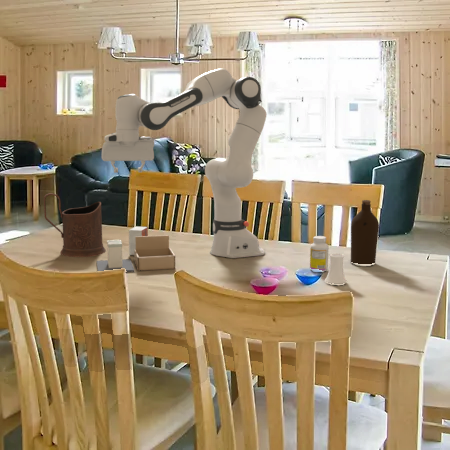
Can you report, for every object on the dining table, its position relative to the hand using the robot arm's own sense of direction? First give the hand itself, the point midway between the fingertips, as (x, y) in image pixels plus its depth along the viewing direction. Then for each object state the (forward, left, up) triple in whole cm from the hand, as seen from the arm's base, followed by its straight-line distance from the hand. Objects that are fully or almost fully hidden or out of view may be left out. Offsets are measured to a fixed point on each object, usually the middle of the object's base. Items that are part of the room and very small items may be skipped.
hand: (128, 172), depth 238 cm
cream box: (+7, +15, -33) cm, 37 cm away
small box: (-4, -5, -34) cm, 35 cm away
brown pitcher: (+21, -12, -34) cm, 42 cm away
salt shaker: (-67, +51, -34) cm, 91 cm away
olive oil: (-88, +29, -34) cm, 99 cm away
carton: (-8, +15, -34) cm, 38 cm away
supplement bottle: (-67, +35, -34) cm, 83 cm away
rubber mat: (+7, +15, -34) cm, 38 cm away
